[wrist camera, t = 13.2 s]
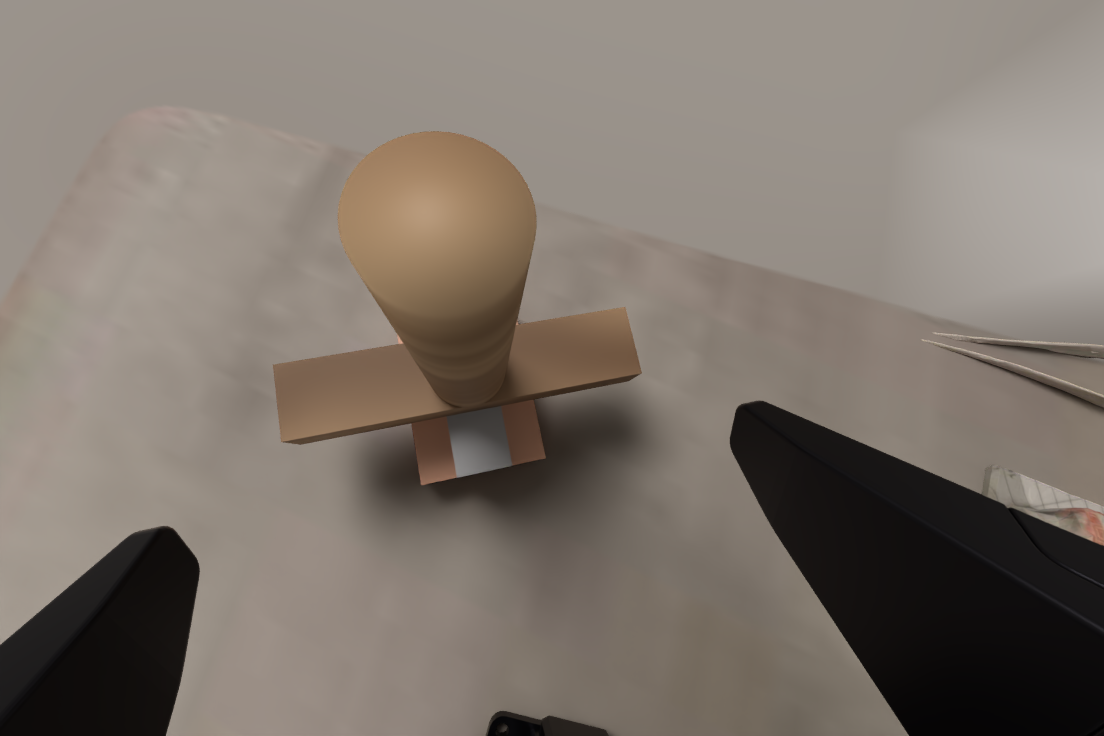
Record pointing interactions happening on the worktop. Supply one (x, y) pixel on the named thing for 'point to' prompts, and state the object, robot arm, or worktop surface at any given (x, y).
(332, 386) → the wooden stamp
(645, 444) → the worktop surface
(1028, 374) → the pair of ivory hairpins
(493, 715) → the robot arm
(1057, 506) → the packaged product
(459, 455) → the fulcrum stand
